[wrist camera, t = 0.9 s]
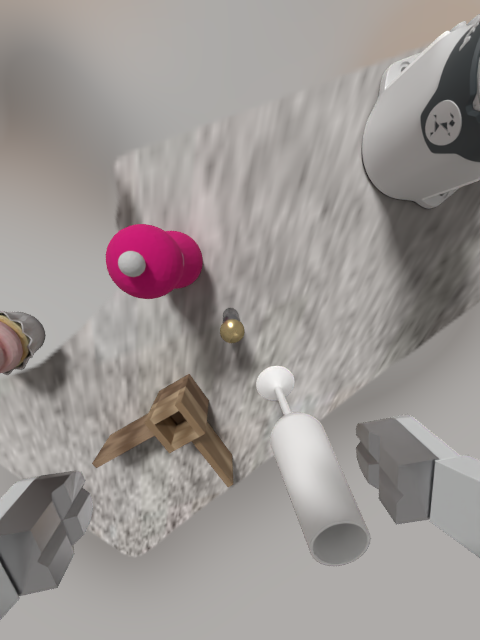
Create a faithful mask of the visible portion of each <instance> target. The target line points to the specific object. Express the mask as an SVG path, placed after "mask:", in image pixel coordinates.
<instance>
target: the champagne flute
mask: <svg viewBox="0 0 480 640" xmlns="http://www.w3.org/2000/svg"><path fill="white" fill-rule="evenodd" d="M294 383H295V382H294V376H293V374H292V373H291V372H290V371H289V370H288V369H287V368H285V367H282V366H272V367H269V368H267V369H265V370H264V371H262V372H261V373H260V375H259V376H258V379H257V383H256V387H257V390H258V392H259V394H260V395H261V396H262V397H263V398H265V399H267V400H272V401H276V400H278V401H279V404H280V407H281V409H282V412H283V415H284V416H283V417H281V418H280V419H279V420H278V421H277V422H276V424H275V425H274V427H273V430H272V432H271V436H270V445H271V448H272V451H273V454H274V456H275V459H276V462H277V464H278V467H279V470H280V472H281V475H282V478H283V480H284V483H285V486H286V488H287V491H288V494H289V496H290V499H291V502H292V504H293V507H294V510H295V512H296V515H297V518H298V520H299V523H300V526H301V529H302V531H303V534H304V537H305V539H306V542H307V544H308V547H309V550H310V553H311V555H312V556H313V558H314V559H315V560H316V561H317V562H319V563H321V564H324V565H328V566H340V565H345V564H348V563H351V562H353V561H354V560H356V559H358V558H359V557H361V556H362V555H363V554H364V553H365V552H366V550H367V549H368V547H369V544H370V533H369V531H368V529H367V526H366V524H365V522H364V520H363V517H362V515H361V513H360V510H359V508H358V506H357V504H356V501H355V499H354V496H353V494H352V492H351V490H350V487H349V485H348V483H347V480H346V478H345V476H344V474H343V471H342V469H341V467H340V464H339V462H338V460H337V457H336V455H335V453H334V450H333V448H332V446H331V444H330V441H329V439H328V437H327V434H326V432H325V430H324V428H323V426H322V424H321V423H320V422H319V421H318V420H317V419H316V418H314V417H313V416H311V415H308V414H305V413H300V412H293V413H292V412H291V410H290V407H289V405H288V403H287V400H286V398H285V397H287V396H288V395H289V394H290V393H291V391H292V390H293V388H294Z"/></svg>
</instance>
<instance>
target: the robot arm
mask: <svg viewBox="0 0 480 640" xmlns="http://www.w3.org/2000/svg"><path fill="white" fill-rule="evenodd" d="M401 71H402V72H401ZM362 155H363V161H364V166H365V169H366V172H367V174H368V176H369V178H370V180H371V181H372V183H373V184H374V185H375V186H376V187H377V188H378V189H379V190H380V191H381V192H382V193H384V194H386V195H387V196H390V197H392V198H396V199H401V200H411V201H415V202H416V203H418V204H419V205H421V206H422V207H424V208H427V209H431V208H434V207H436V206H438V205H440V204H441V203H442V202H443V201H445V200H446V199H447V198H448V197H449V196H451V195H452V194H453V193H454V192H455V191H457V190H458V189H459V188H460V187H463V186H465V185H468V184H471V183H474V182H477V181H479V180H480V14H479V15H477V16H476V17H475V18H473V19H472V20H471V21H470V22H469V23H468V24H466V21H463V22H461V23H460V24H458V25H456V26H455V27H454V28H453V29H452V30H451V31H450V32H449V31H446V32H444V33H443V34H442V35H440V36H439V37H438V38H437V39H436V40H435V41H434V42H433V43H432V44H431V45H429V46H428V47H427V48H426V49H425V50H424V51H423V52H421V53H419V54H416V55H413V56H411V57H408V58H405V59H403V60H400V61H397V62H395V63H393V64H392V65H391V66H390V67H388V68H387V69H386V70H385V72H384V74H383V76H382V79H381V84H380V90H379V97H378V100H377V102H376V104H375V106H374V108H373V110H372V112H371V114H370V116H369V118H368V121H367V123H366V127H365V130H364V135H363V142H362ZM439 194H440V195H439ZM356 435H357V437H358V438H359V439H360V443H359V444H358V446H357V447H356V453H357V460H358V463H359V467H360V469H361V471H362V473H363V475H364V477H365V478H366V480H367V481H368V483H369V484H371V485H372V486H374V487H375V488H377V489H379V499H380V501H381V503H382V504H383V506H384V507H385V508H386V510H387V512H388V513H389V515H390V516H391V518H392V519H393V521H394V522H395V523H396V524H402V523H408V522H415V521H422V520H428V519H430V522H431V523H432V524H434V525H435V526H437V527H438V528H439V529H441V530H442V531H443V532H445V533H446V534H448V535H449V536H450V537H452V538H453V539H454V540H456V541H457V542H459V543H460V544H461V545H463V546H464V547H465V548H467V549H468V550H469V551H471V552H472V553H474V554H475V555H476V556H478V557H479V558H480V460H479V459H476V458H474V457H471V456H469V455H463V456H461V455H459V454H458V453H457V452H456V451H454V450H453V449H452V448H451V447H450V446H448V445H447V444H446V443H445V442H443V441H442V440H441V439H440V438H439V437H437V436H436V435H435V434H434V433H432V432H431V431H430V430H429V429H427V428H426V427H425V426H424V425H423V424H421V423H420V422H419V421H418V420H416V419H415V418H414V417H412V416H410V415H407V414H406V415H400V416H395V417H390V418H386V419H380V420H374V421H369V422H363V423H358V424H357V427H356ZM84 483H85V479H84V476H83V474H82V472H80V471H70V472H63V473H56V474H49V475H42V476H38V477H31V478H24V479H22V480H20V481H18V482H16V483H15V484H14V485H13V486H12V487H11V488H10V489H9V490H8V491H7V492H6V493H5V494H4V495H3V497H2V498H1V499H0V620H1V619H2V617H4V615H5V614H6V613H7V612H8V611H9V610H10V609H11V607H12V606H13V605H14V604H15V603H16V602H17V601H18V600H19V596H22V595H27V594H31V593H35V592H40V591H45V590H49V589H54V588H58V586H59V584H60V582H61V579H62V577H63V576H64V574H65V572H66V570H67V568H68V566H69V564H70V562H71V560H72V558H73V555H74V547H73V545H74V544H75V543H76V542H77V541H78V540H79V539H80V538H81V537H82V536H83V535H84V534H85V532H86V529H87V527H88V525H89V523H90V520H91V515H92V511H93V502H92V498H91V495H90V493H89V492H87V491H86V490H85V489H83V488H82V487H83V485H84Z"/></svg>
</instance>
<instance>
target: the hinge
mask: <svg viewBox="0 0 480 640" xmlns="http://www.w3.org/2000/svg"><path fill="white" fill-rule="evenodd" d="M208 404H209V400H208V399H207V397H206V396H205V395H204V393H203V392H202V391H201V389H200V388H199V386H198V385H197V384H196V382H195V381H194V380H193V378H192V377H191V375H190V374H188V375H187V376H185V377H183V378H181V379H180V380H178V381H176V382H174V383H173V384H171V385H169V386H167V387H166V388H164V389H162V390H161V391H159V393H158V395H157V397H156V399H155V401H154V403H153V405H152V407H151V409H150V411H149V413H148V414H146V415H145V416H143V417H141V418H139V419H138V420H136V421H134V422H132V423H131V424H129V425H127V426H125V427H124V428H122V429H120V430H118V431H117V432H115V433H113V434H111V435H110V436H109V438H108V440H107V441H106V443H105V444H104V446H103V447H102V449H101V450H100V452H99V454H98V455H97V457H96V458H95V460H94V461H93V463H92V464H93V465H94V466H95V467H96V468H98V467H99V466H101V465H103V464H105V463H106V462H108V461H110V460H112V459H114V458H115V457H117V456H119V455H121V454H122V453H124V452H126V451H128V450H130V449H131V448H133V447H135V446H137V445H139V444H140V443H142V442H144V441H146V440H147V439H149V438H151V437H153V436H155V437H156V438H157V439H158V440H159V441H160V443H161V444H162V445H163V446H164V447H165V449H166V450H167V451H168V452H169V453H171V452H173V451H175V450H176V449H178V448H180V447H182V446H184V445H185V444H187V443H189V442H191V441H192V443H193V444H194V445H195V446H196V448H197V449H198V450H199V451H200V453H201V454H202V455H203V456H204V458H205V459H206V460H207V461H208V463H209V464H210V465H211V467H212V468H213V469H214V470H215V472H216V473H217V474H218V475H219V477H220V478H221V479H222V480H223V482H224V483H225V484H226V485H227V487H229V486H231V485H233V464H232V454H231V453H230V451H229V450H228V449H227V447H226V446H225V445H224V443H223V442H222V441H221V439H220V438H219V437H218V435H217V434H216V433H215V431H214V430H213V429H212V427H211V426H210V425H209V423H208V422H207V413H208Z"/></svg>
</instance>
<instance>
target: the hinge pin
mask: <svg viewBox="0 0 480 640" xmlns="http://www.w3.org/2000/svg"><path fill="white" fill-rule="evenodd" d="M220 334H221V337H222V338H223V340H225V341H226V342H228V343H236V342H238V341H240V340H241V339H242V338H243V336H244V327H243V325H242V323H241V322H240V320H239V316H238V312H237V311H236V310H235V309H233V308H228V309H226V310H225V311H224V313H223V324H222V325H221V328H220Z"/></svg>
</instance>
